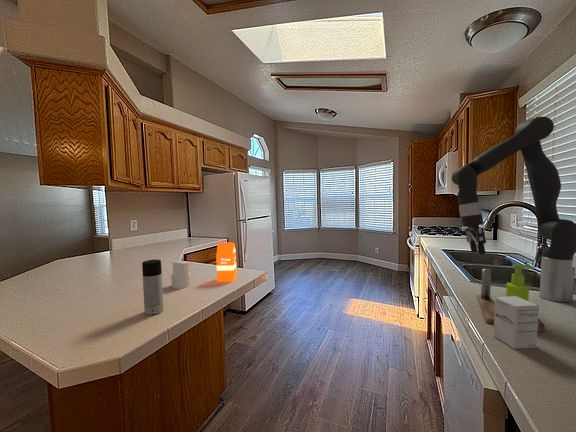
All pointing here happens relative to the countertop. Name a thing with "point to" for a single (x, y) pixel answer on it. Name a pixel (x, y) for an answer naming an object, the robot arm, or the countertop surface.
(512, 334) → the supplement box
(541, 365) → the countertop surface
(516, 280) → the soap dispenser
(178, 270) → the white lidded jar
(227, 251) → the orange juice
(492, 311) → the base with upright cylinder
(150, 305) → the spray can
